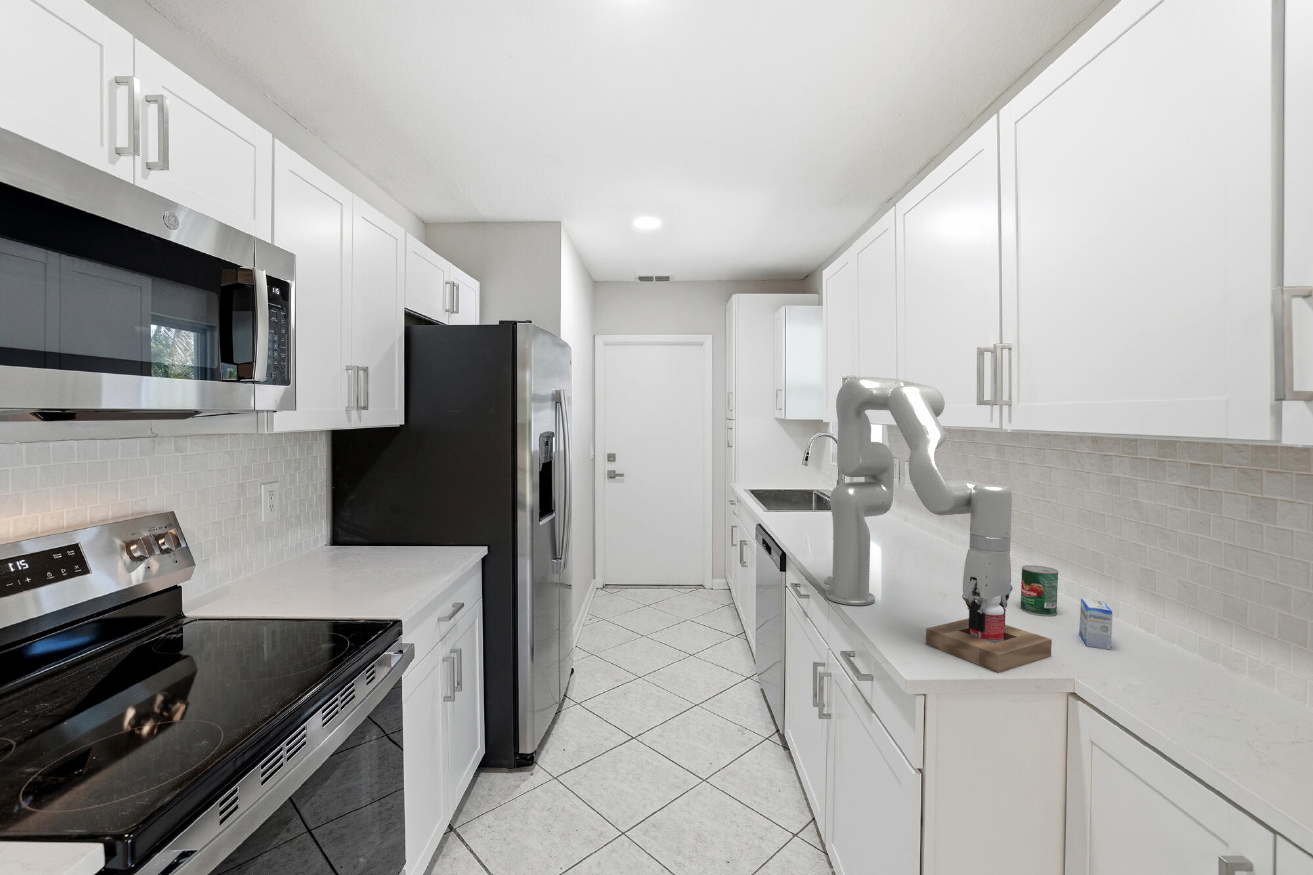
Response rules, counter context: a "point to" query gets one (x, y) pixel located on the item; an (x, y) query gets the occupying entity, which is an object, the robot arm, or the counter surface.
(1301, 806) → the counter surface
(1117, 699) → the counter surface
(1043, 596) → the canned tomato
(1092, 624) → the medicine box
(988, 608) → the pill bottle
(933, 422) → the robot arm
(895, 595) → the counter surface
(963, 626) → the walnut frame
